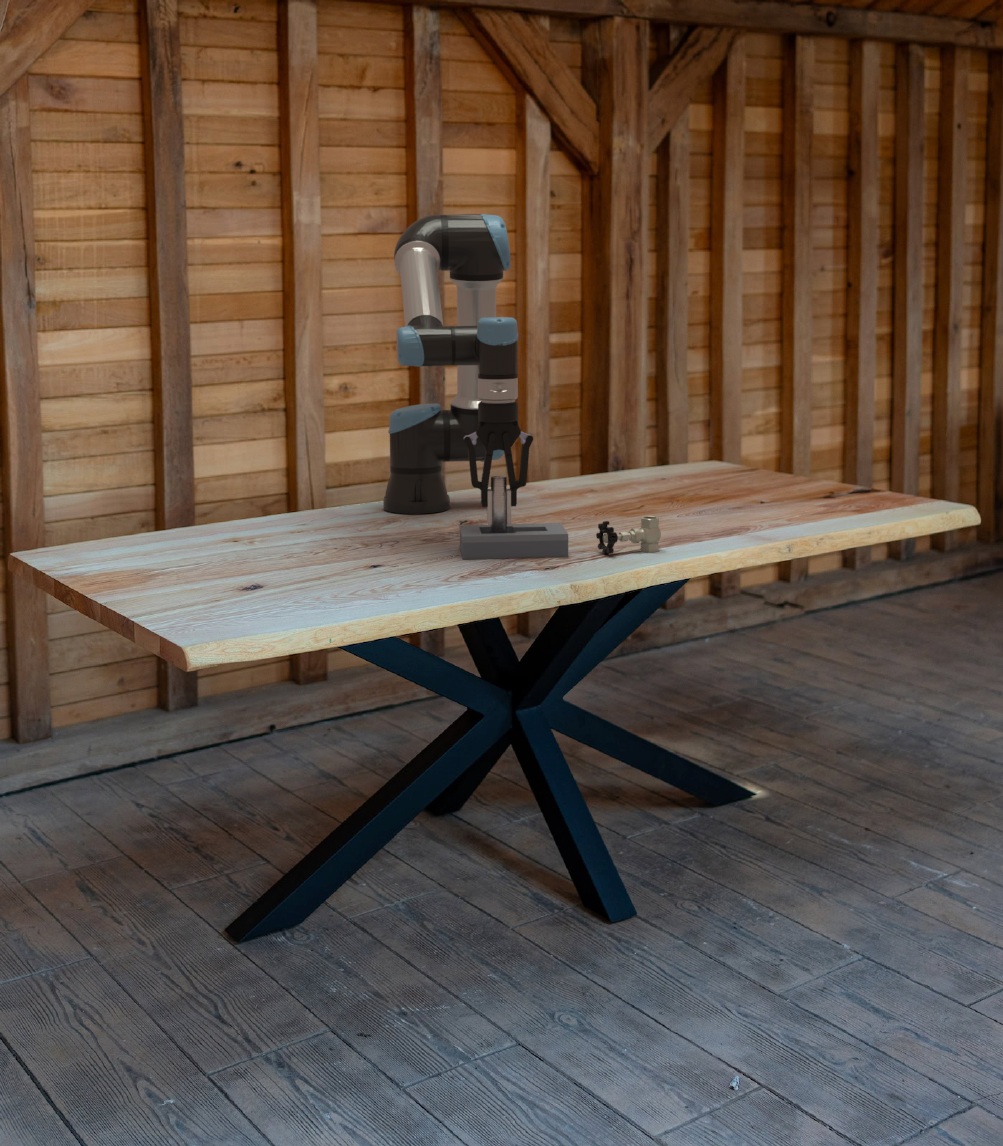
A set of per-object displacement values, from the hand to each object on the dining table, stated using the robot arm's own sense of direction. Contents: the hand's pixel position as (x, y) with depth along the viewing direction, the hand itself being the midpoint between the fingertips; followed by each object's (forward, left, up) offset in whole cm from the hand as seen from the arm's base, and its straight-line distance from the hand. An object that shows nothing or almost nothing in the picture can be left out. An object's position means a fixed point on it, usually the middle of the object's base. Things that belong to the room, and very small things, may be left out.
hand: (499, 523), depth 259 cm
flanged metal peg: (0, 0, -5) cm, 5 cm away
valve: (+20, +15, -6) cm, 26 cm away
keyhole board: (+2, +2, -6) cm, 6 cm away
